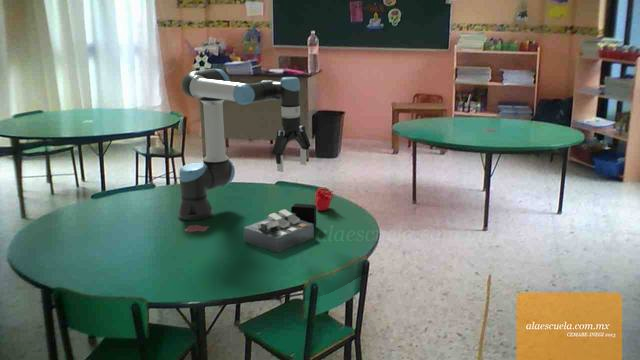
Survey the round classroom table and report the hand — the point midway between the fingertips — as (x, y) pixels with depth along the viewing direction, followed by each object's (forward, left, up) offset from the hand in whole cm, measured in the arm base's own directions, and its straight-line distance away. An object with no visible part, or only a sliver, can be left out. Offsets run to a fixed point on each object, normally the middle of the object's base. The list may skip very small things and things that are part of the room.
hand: (292, 167), depth 256 cm
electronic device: (0, +7, -28) cm, 29 cm away
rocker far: (+1, -4, -20) cm, 20 cm away
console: (+1, -10, -28) cm, 30 cm away
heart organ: (-10, +31, -28) cm, 43 cm away
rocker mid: (+1, -10, -20) cm, 22 cm away
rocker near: (+1, -16, -20) cm, 25 cm away
